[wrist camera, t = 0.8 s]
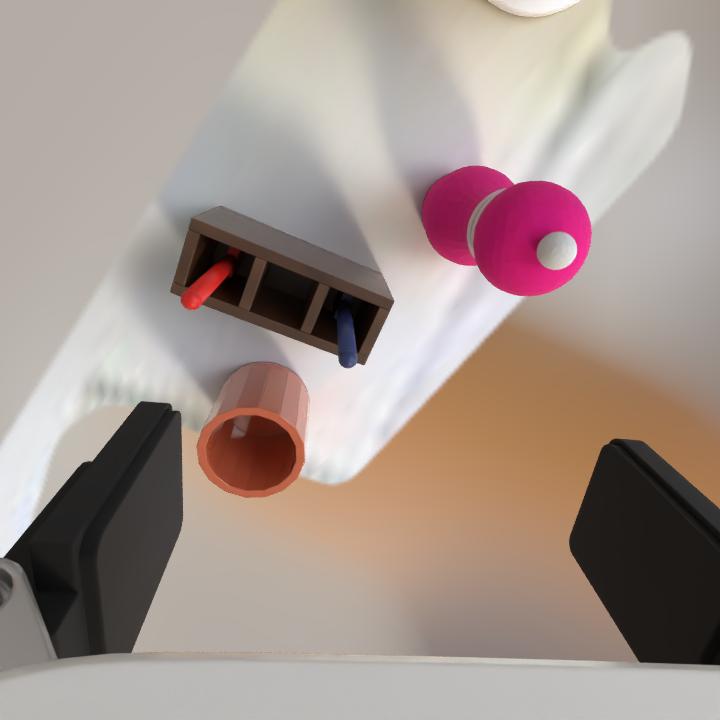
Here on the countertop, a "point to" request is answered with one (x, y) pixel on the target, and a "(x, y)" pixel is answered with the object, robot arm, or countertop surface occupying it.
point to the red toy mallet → (212, 279)
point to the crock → (256, 431)
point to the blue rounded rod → (345, 330)
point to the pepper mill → (508, 229)
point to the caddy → (283, 281)
